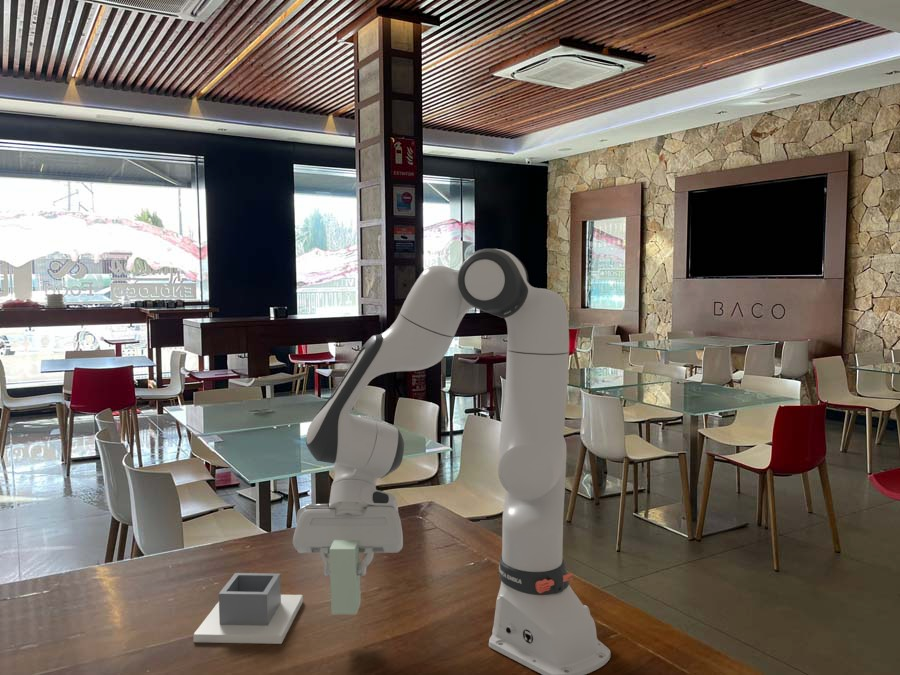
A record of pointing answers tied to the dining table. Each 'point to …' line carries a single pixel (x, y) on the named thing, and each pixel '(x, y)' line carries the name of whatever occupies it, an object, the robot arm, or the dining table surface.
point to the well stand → (250, 611)
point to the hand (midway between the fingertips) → (344, 574)
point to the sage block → (344, 577)
